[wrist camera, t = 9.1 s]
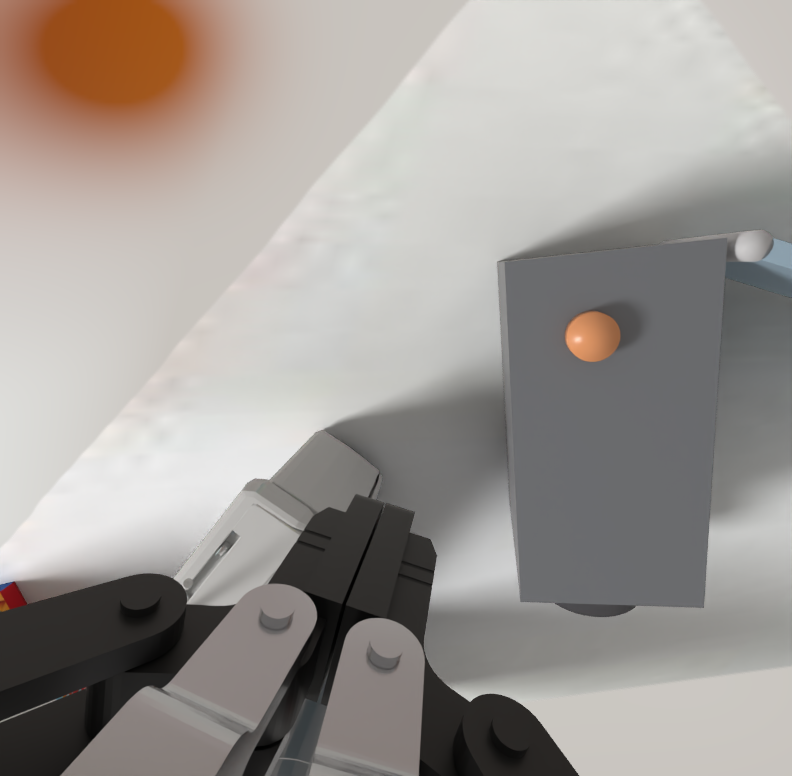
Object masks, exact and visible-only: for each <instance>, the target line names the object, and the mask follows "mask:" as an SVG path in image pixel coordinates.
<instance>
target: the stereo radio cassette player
mask: <svg viewBox="0 0 792 776" xmlns="http://www.w3.org/2000/svg"><path fill="white" fill-rule="evenodd" d="M382 479H383V478H382V476H381V474H380V472H379V470H378V469H377V468H375V467H374V466H373V465H372V464H371V463H369V462H368V461H367V460H366V459H364V458H363V457H362V456H361V455H359V454H358V453H357V452H355V451H354V450H353V449H351V448H350V447H349V446H347V445H346V444H344V443H343V442H341V441H340V440H338V439H336V438H335V437H333V436H332V435H330V434H329V433H327V432H326V431H324V430H321V431H318V432H316V433H315V434H314V435H313V436H312V437H311V438H310V439H309V440H308V441H307V442H306V443H305V444H304V445H303V446H302V447H301V448H300V449H299V450H298V451H297V452H296V453H295V454H294V455H293V456H292V457H291V458H290V459H289V460H288V461H287V462H286V463H285V465H284V466H283V467H282V468H281V469H280V470H279V471H278V472H277V473H276V474H275V475H274V476H273V477H272V478H271V479H270V480H267V479H253V480H252V481H250V482H248V483H247V484H246V485H245V487H244V488H243V489H242V491H241V492H240V493H239V494H238V496H237V497H236V498H235V500H234V501H233V502H232V503H231V505H230V506H229V507H228V509H227V510H226V511H225V512H224V514H223V515H222V516H221V518H220V519H219V520H218V521H217V523H216V524H215V525H214V527H213V528H212V529H211V531H210V532H209V533H208V534H207V536H206V537H205V538H204V540H203V541H202V542H201V543H200V545H199V546H198V547H197V549H196V550H195V551H194V552H193V554H192V555H191V556H190V558H189V559H188V560H187V562H186V563H185V564H184V565H183V567H182V568H181V569H180V571H179V572H178V573H177V574H176V576H175V577H174V578H173V579H174V580H176V581H178V582H179V583H180V584H181V585H182V586H183V588H184V589H185V591H186V594H187V604H194V605H210V606H227V605H234V604H237V602H238V601H239V600H240V599H241V598H242V597H243V596H244V595H245V594H246V593H247V592H249V591H250V590H252V589H254V588H256V587H259V586H262V585H267V584H268V583H269V581H270V580H271V578H272V577H273V575H274V574H275V572H276V571H277V569H278V568H279V566H280V565H281V563H282V562H283V560H284V559H285V557H286V556H287V554H288V553H289V551H290V550H291V548H292V547H293V545H294V544H295V543H296V542H297V539H298V538H299V536H300V535H301V533H302V532H303V531H304V529H305V527H306V526H307V524H308V523H309V521H310V520H311V518H312V517H313V515H315V514H317V513H319V512H321V511H322V510H324V509H326V508H328V507H331V508H334V509H337V510H340V511H343V512H346V511H347V509H348V507H349V505H350V503H351V501H352V500H353V498H354V496H355V494H359V495H362V496H365V497H368V498H371V499H374V500H376V499H377V496H378V493H379V491H380V488H381V485H382Z"/></svg>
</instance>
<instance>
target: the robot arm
mask: <svg viewBox="0 0 792 776" xmlns="http://www.w3.org/2000/svg"><path fill="white" fill-rule="evenodd" d="M383 507H384V502H381V501H378V500H374V499H371V498H368V497H365V496H362V495H359V494H355V496H354V498H353V500H352V501H351V503H350V505H349V507H348V509H347V511H346V512H343V511H340V510H337V509H334V508H331V507H328V508H326V509H324V510H322V511H321V512H319V513H317V514H315V515H313V517H312V518H311V520H310V521H309V523H308V524H307V526H306V527H305V529H304V531H303V532H302V533H301V535H300V536H299V538H298V539H297V542H296V543H295V544H294V545H293V547H292V548H291V550H290V551H289V553H288V554H287V556H286V557H285V559H284V560H283V562H282V563H281V565H280V566H279V568H278V569H277V571H276V572H275V574H274V575H273V577H272V578H271V580H270V581H269V583H268V584H267V585H262V586H259V587H256V588H254V589H252V590H250V591H249V592H247V593H246V594H245V595H244V596H243V597H242V598H241V599H240V600H239V601H238V602H237V604H234V605H227V606H210V605H194V604H187V594H186V591H185V589H184V588H183V586H182V585H181V584H180V583H179V582H178V581H176V580H174V579H173V578H170V577H168V576H164V575H160V574H138V575H133V576H129V577H125V578H121V579H118V580H114V581H111V582H107V583H103V584H100V585H96V586H93V587H89V588H85V589H82V590H78V591H75V592H71V593H67V594H64V595H60V596H56V597H53V598H49V599H46V600H42V601H38V602H35V603H31V604H28V605H24V606H20V607H17V608H13V609H10V610H6V611H2V612H0V721H2V720H5V719H7V718H10V717H12V716H15V715H17V714H20V713H22V712H25V711H27V710H30V709H32V708H35V707H37V706H40V705H42V704H45V703H47V702H50V701H52V700H55V699H57V698H60V697H62V696H65V695H67V694H70V693H72V692H75V691H77V690H80V689H82V688H85V687H86V688H85V689H83V690H80V691H78V692H75V693H73V694H70V695H68V696H65V697H63V698H60V699H58V700H55V701H53V702H50V703H48V704H45V705H43V706H41V707H38V708H36V709H33V710H31V711H28V712H26V713H23V714H21V715H18V716H16V717H13V718H11V719H8V720H6V721H3V722H1V723H0V776H579V775H578V773H577V772H576V771H575V769H574V768H573V767H572V765H571V764H570V763H569V761H568V760H567V758H566V757H565V756H564V754H563V753H562V752H561V750H560V749H559V748H558V746H557V745H556V743H555V742H554V741H553V739H552V738H551V737H550V735H549V734H548V732H547V731H546V730H545V728H544V727H543V726H542V724H541V723H540V722H539V721H538V719H537V718H536V717H535V716H534V715H533V714H532V713H531V712H530V711H529V710H528V709H526V708H525V707H524V706H523V705H521V704H520V703H518V702H516V701H515V700H513V699H510V698H508V697H505V696H502V695H498V694H484V695H480V696H478V697H476V698H474V699H473V700H472V701H471V702H469V701H468V700H466V699H465V698H464V697H462V696H461V695H459V694H458V693H456V692H455V691H454V690H452V689H451V688H450V687H448V686H447V685H446V684H445V683H443V682H442V681H441V680H440V679H439V678H438V676H437V675H436V674H435V673H434V671H433V670H432V668H431V667H430V665H429V663H428V661H427V658H426V655H425V652H424V635H425V628H426V622H427V615H428V609H429V603H430V596H431V590H432V583H433V577H434V570H435V564H436V557H437V555H436V552H435V550H434V547H433V545H432V542H431V540H430V539H428V538H425V537H421V536H418V535H415V534H412V533H409V532H410V528H411V524H412V521H413V517H414V513H415V512H413V511H410V510H407V509H403V508H400V507H397V506H394V505H391V504H388V503H386V506H385V508H384V510H383ZM382 511H383V513H382ZM381 515H382V516H381Z"/></svg>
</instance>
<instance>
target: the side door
mask: <svg viewBox="0 0 792 776" xmlns="http://www.w3.org/2000/svg"><path fill="white" fill-rule="evenodd" d="M719 238H728V239H727V254H726V270H725V278H728V279H732V280H735V281H738V282H741V283H745V284H748V285H751V286H754V287H758V288H761V289H764V290H768V291H771V292H774V293H777V294H781V295H784V296H787V297H790V298H792V244H791V243H788V242H785V241H781V240H778V239H774V238H773V237H772V235H771V234H770V233H769V232H767V231H765V230H752V231H743V232H734V233H726V234H717V235H708V236H700V237H691V238H682V239H674V240H665V241H662V242H661V243H659V244H667V243H678V242H688V241H698V240H708V239H719Z"/></svg>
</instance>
